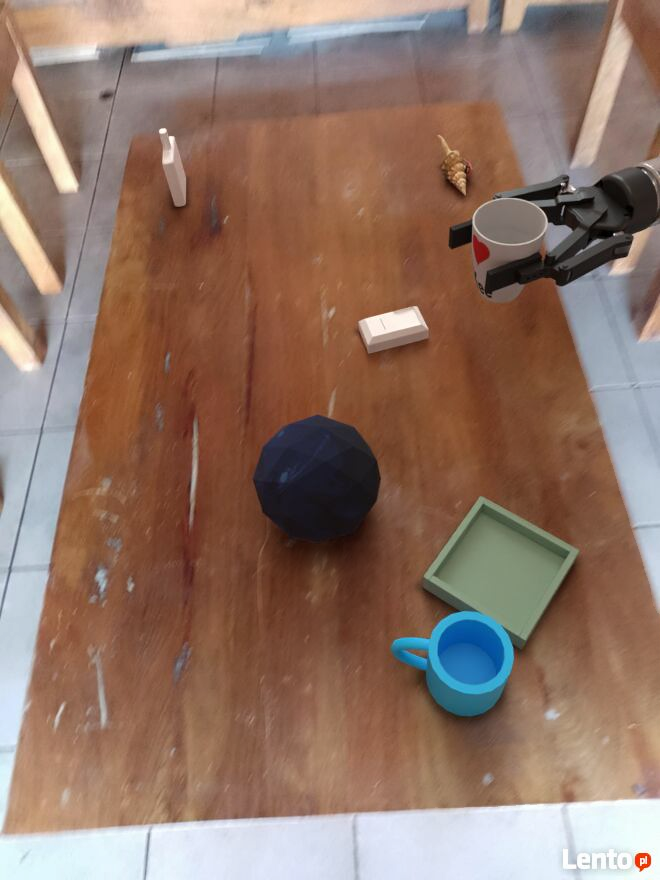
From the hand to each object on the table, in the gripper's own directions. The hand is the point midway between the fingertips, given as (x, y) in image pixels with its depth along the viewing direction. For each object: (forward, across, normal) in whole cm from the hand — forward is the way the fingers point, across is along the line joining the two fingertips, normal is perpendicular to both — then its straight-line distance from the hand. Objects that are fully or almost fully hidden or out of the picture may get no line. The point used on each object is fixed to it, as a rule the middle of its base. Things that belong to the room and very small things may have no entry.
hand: (468, 259), depth 81 cm
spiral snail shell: (-22, +41, -22) cm, 51 cm away
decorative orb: (+24, -10, -22) cm, 34 cm away
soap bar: (+4, +12, -22) cm, 25 cm away
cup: (-5, 0, -7) cm, 8 cm away
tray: (+9, -27, -22) cm, 36 cm away
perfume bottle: (+22, +60, -22) cm, 68 cm away
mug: (+20, -35, -22) cm, 46 cm away
